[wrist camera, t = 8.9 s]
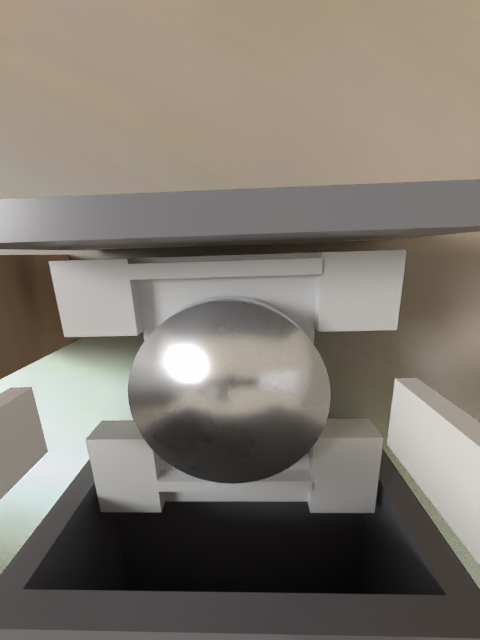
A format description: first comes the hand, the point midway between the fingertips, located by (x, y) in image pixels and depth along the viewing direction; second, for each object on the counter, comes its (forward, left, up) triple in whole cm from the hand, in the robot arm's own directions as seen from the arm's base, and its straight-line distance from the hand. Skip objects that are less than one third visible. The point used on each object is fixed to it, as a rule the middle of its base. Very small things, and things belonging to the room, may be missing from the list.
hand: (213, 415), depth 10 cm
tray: (0, 0, -6) cm, 7 cm away
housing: (0, -12, -7) cm, 14 cm away
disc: (0, 0, -2) cm, 2 cm away
